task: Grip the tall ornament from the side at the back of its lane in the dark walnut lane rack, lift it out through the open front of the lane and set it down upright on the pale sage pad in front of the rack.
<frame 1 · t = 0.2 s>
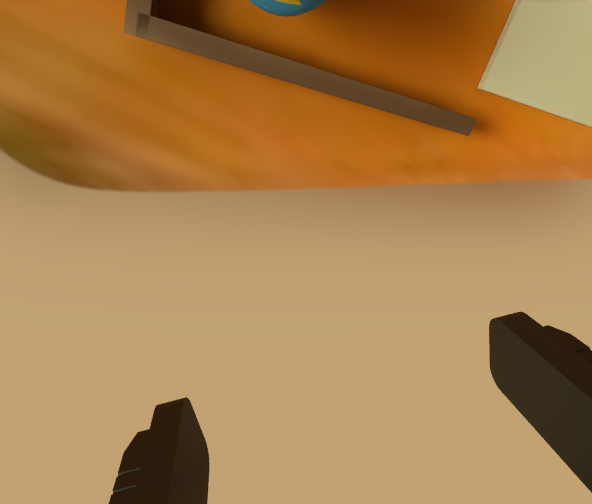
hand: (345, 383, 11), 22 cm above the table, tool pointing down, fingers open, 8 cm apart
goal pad: (582, 15, 29), on the table
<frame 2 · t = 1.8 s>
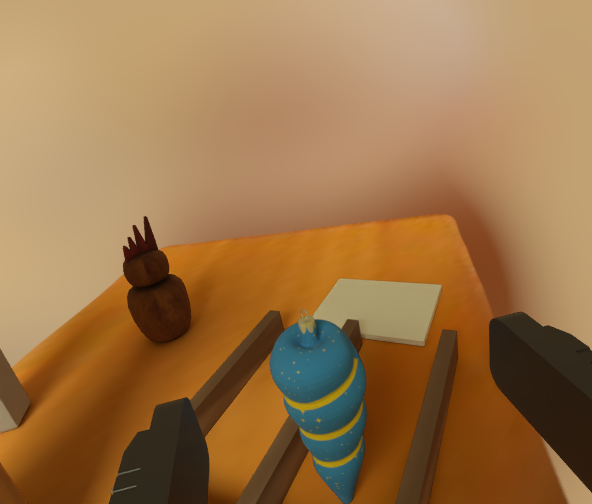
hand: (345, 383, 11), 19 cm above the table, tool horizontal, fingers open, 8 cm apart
vintage mobile phone: (1, 424, 42), on the table
wooden figurine: (171, 334, 51), on the table
lane rack: (313, 425, 34), on the table
ornament: (345, 500, 28), resting in lane rack
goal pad: (375, 309, 47), on the table
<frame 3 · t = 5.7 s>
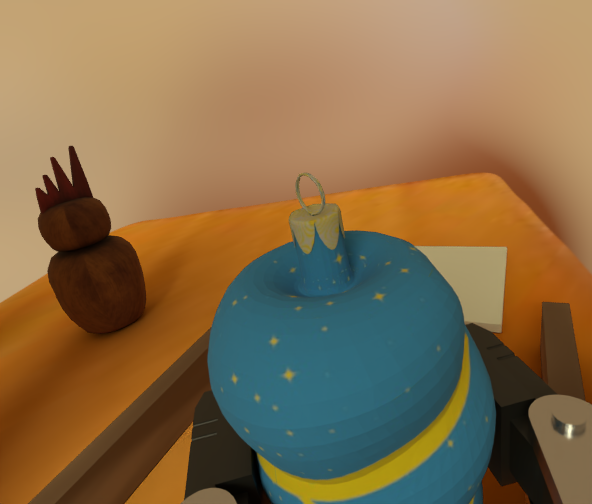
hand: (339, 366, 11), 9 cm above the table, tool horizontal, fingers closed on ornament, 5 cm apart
wooden figurine: (119, 323, 36), on the table
lane rack: (327, 472, 19), on the table
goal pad: (412, 282, 32), on the table
when the fingers open (10 cm above the table, at t = 12.2 s): ornament stays where it is, resting on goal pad.
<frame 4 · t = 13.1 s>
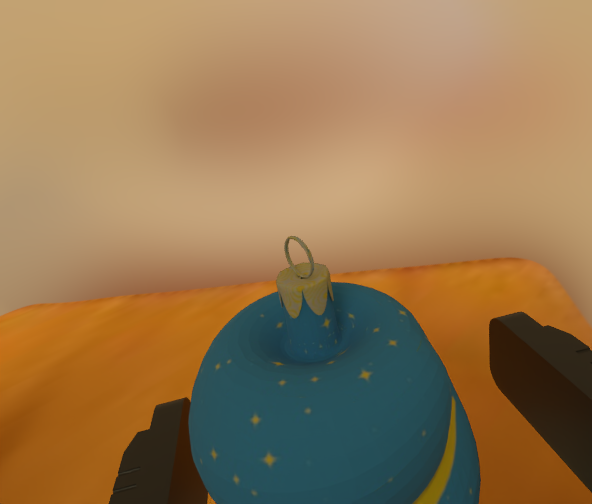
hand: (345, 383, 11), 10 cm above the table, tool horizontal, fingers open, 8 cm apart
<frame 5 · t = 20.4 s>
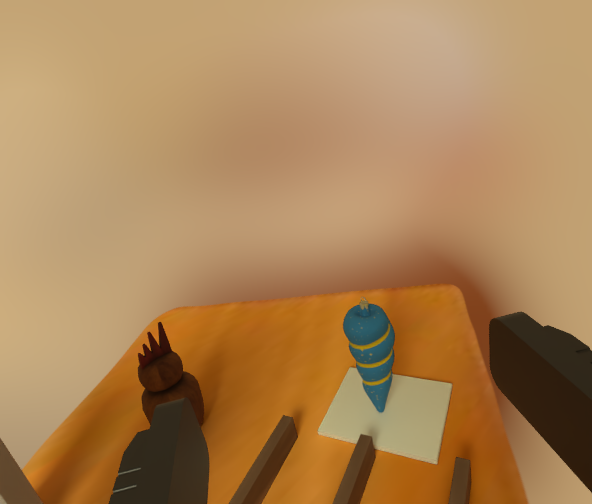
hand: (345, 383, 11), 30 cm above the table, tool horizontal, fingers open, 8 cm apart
wooden figurine: (185, 429, 52), on the table
ornament: (379, 411, 48), resting on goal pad
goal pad: (387, 410, 48), on the table
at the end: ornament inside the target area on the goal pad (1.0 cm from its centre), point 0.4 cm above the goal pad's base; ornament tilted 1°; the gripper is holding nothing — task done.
